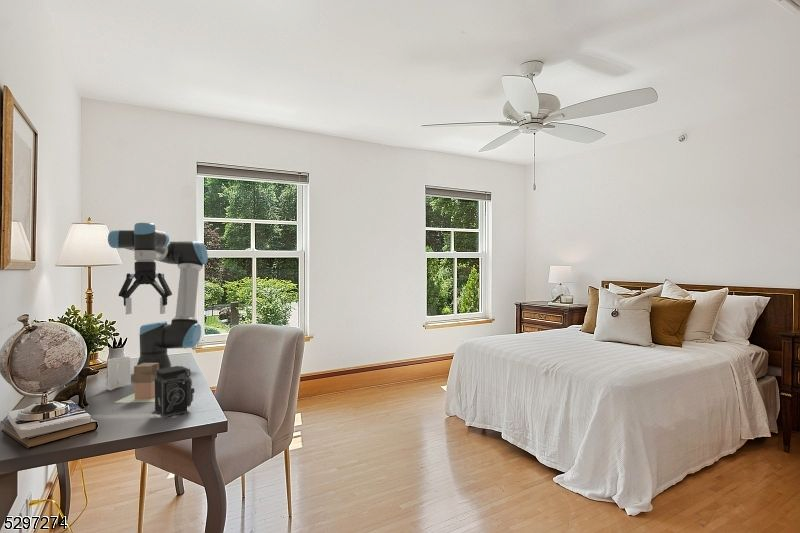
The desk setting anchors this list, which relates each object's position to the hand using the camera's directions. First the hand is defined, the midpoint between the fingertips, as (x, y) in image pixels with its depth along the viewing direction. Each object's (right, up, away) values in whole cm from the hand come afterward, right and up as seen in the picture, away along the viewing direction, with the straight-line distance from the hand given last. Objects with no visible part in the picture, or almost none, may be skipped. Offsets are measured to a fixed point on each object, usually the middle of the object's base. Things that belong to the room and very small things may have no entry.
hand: (145, 314), depth 184 cm
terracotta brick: (+9, -29, -14) cm, 34 cm away
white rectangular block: (-13, -31, +3) cm, 34 cm away
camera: (+27, -30, -30) cm, 50 cm away
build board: (+9, -31, -14) cm, 35 cm away
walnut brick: (+8, -23, -14) cm, 29 cm away
